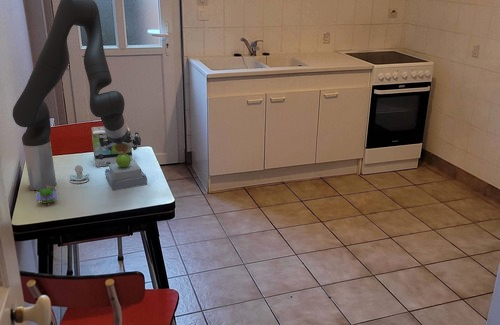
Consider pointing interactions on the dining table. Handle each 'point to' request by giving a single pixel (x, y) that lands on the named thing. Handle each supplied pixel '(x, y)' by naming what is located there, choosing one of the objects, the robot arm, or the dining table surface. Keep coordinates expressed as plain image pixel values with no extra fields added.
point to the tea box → (104, 149)
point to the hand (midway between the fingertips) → (123, 148)
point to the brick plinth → (126, 181)
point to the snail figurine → (123, 155)
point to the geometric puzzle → (46, 195)
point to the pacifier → (79, 175)
